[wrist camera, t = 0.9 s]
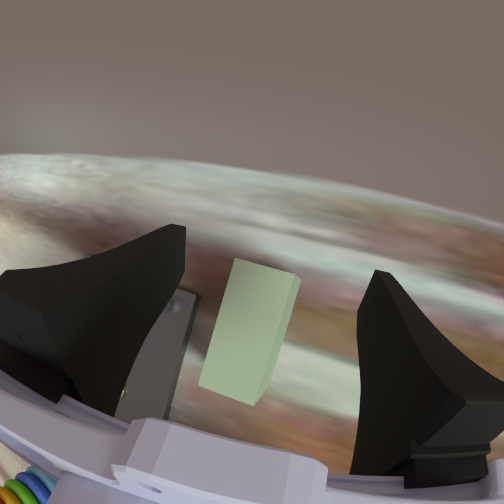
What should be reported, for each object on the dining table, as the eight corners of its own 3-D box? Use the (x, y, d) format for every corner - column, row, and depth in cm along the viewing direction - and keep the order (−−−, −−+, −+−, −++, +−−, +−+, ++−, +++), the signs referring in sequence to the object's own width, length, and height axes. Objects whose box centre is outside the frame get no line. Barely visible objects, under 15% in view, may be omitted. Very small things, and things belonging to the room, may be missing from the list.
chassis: (159, 452, 25) (140, 466, 22) (63, 393, 28) (41, 398, 25) (200, 295, 26) (182, 294, 23) (91, 255, 30) (67, 249, 26)
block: (267, 387, 24) (253, 406, 19) (221, 371, 25) (198, 384, 20) (301, 279, 25) (294, 274, 20) (253, 266, 26) (234, 257, 21)
